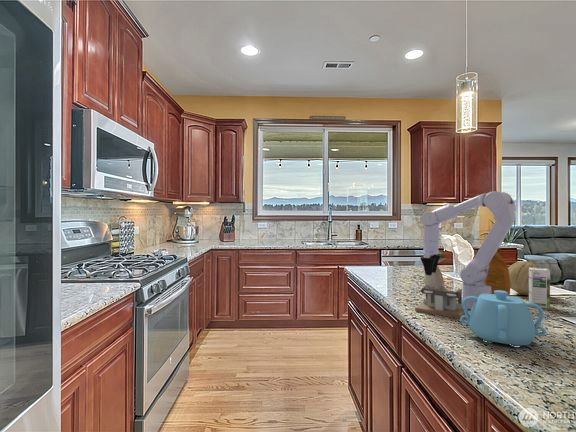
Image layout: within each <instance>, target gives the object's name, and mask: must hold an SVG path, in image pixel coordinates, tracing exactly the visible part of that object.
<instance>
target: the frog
mask: <svg viewBox="0 0 576 432" xmlns="http://www.w3.org/2000/svg"><path fill="white" fill-rule="evenodd" d="M438 252H439V254H437V255H440V256H441V257H440V259H439V261H438V264H439V263H441V262H443V261H444V260H446V259H447V258H446V254H445V253H443V252H442V251H438ZM422 257H424V255H423V256H422ZM426 285H429V288H432V289H440V290H448V291H452V289H451V288H447V287H445V280H444V276H443V273H442V271H441V269H440V268H439V266H438V265H437V269H436V272H435V273H432V275H426V274H425V273H424V286H426ZM424 286H420V290H419V291H421V292H422V288H423V287H424Z"/></svg>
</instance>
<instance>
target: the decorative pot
mask: <svg viewBox="0 0 576 432" xmlns="http://www.w3.org/2000/svg"><path fill="white" fill-rule="evenodd" d="M494 293H495V294H481V295H479V297H478V298H477V297H475V296H468V297H466V298H464V299H463V298H462V306H463V309H464V312H465V315H463V316H461V318H460V319H459V320H460V322H461V323H462V324H463V325H465V326H469V328H470V330H471V331H472V333H473V334H474V335H475V336H476V337H478V338H480V339H481V340H482V339H483V340H484V341H487V342H486V343H488V342H492V343H493V342H494V343H499V344H504V345H509V344H511V345H513V346H521V347H522V346H528V345H530V344H531V343H532V342H533V341H534V339H535V337H544V336H545V335H546V334H547V333H546V332H547V330H546V329H545V327H543V326H540V325H541V323H542V321H543V320H544V315H545V312H544V308H541V307H540V306H539V305H537V304H535V303H529V302H525V301H524V300H523V299H522V298H520V297H517V296H512V295H510V296H507V295H508V292H506V291H501V290H495V291H494ZM467 300H476V302H475V303H474V305H473V307H472V310H471V309H470V312H469V309H467V306H466V301H467ZM529 307H532V308H534V309H536V310H537V311H538V316H537V319H536V321H534V319H533V316H532V313H531V311H530V309H529ZM464 318H465V319H466V320H465V319H464ZM538 330H541V332H539V331H538ZM484 341H483V342H484Z"/></svg>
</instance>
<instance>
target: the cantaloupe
mask: <svg viewBox="0 0 576 432" xmlns="http://www.w3.org/2000/svg"><path fill="white" fill-rule="evenodd" d="M529 267H531V268H542V267H541V266H539V265H538V264H536V263H534V260H531V261H526V260H525V261H523V260H520V261H517V262H515V263H512V264H511V265H510V266H508V269H509V275H510V283H511V288H510V290H512V291H514V292H516V293H517V294H519V295H522V296H529Z"/></svg>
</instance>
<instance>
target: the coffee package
mask: <svg viewBox="0 0 576 432" xmlns="http://www.w3.org/2000/svg"><path fill="white" fill-rule="evenodd" d="M501 252H502V249H501V248H500V247H499V248H498V250H497V251H496V253H495V255H494V256H493V258H492V260H491V261H490V263H489V269H488V271H487V278H486V279H485V280H484V282H485V285H486V286H491V290H492V294H495V293H494V291H495V290H501V291H506V292H508V295H507V296H511V283H510V275H509V269H508V268H509V266H508V264H507V263H506V262H505V260H504V259H503V257H502V256H501V255H500V253H501Z"/></svg>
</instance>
